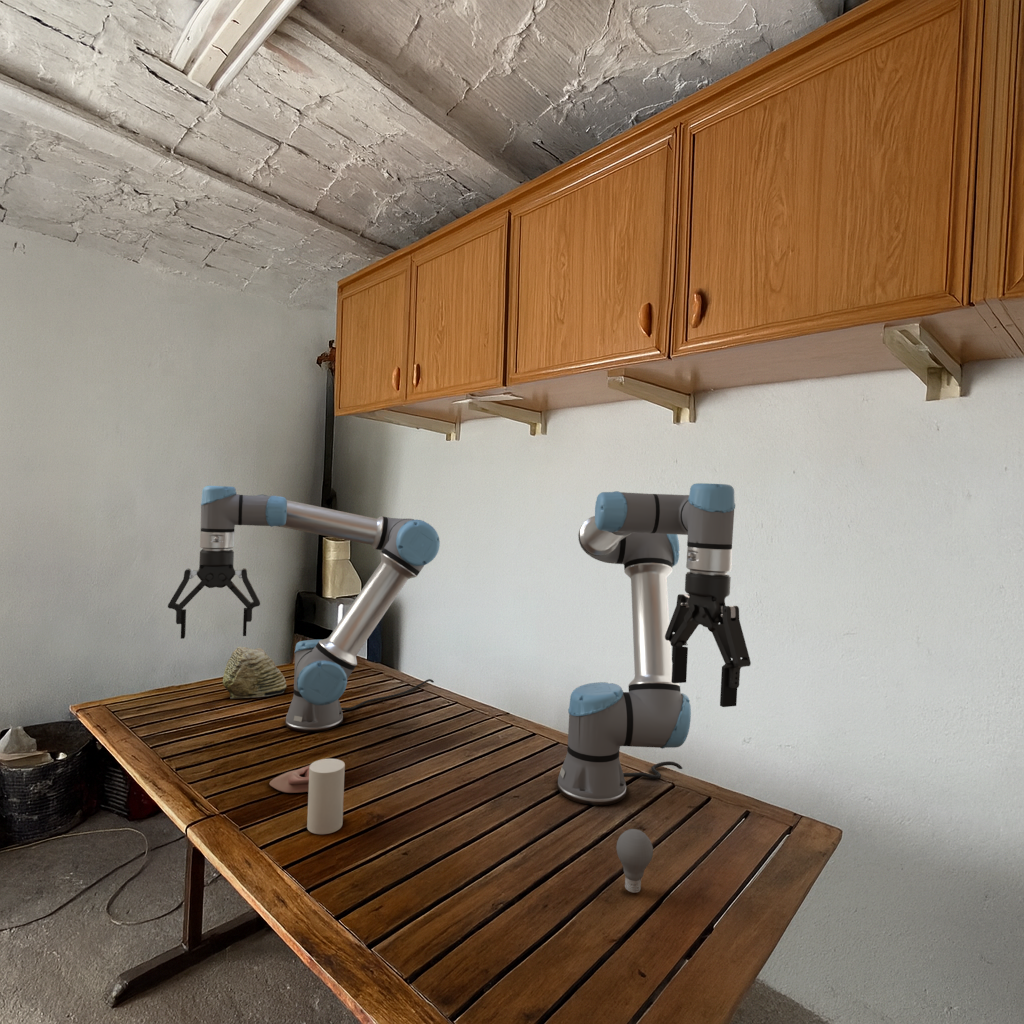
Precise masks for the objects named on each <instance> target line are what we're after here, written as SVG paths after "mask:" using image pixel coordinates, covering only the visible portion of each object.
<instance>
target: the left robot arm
mask: <svg viewBox="0 0 1024 1024" xmlns="http://www.w3.org/2000/svg"><path fill="white" fill-rule="evenodd" d="M201 491H202V492H201V501H200V502H201V503H200V533H199V534H200V535H199V541H200V542H199V547H200V548H201V550H200V551H199V566H198V569H191V568H186V569H185V570H184V574H183V579H182V580H181V582H180V584H179V585H178V587H177V589H176V591H175V592H174V594H173V595H172V598H171V599H170V601H169V603H168V604H167V608H168V609H171V610H175V624H176V625H180V639H185V638H186V627H187V625H186V623H187V609H186V608H185V607H186V606H187V605H188V604H189V603H190V602H191V601H192V600H193V599H194V597H195V596H196V595H197V594H199V592H200V591H202V589H203V588H204V587H206V588H208V589H212V588H213V589H214V588H218V589H223V588H226V587H227V588H228V589H229V590H230V591H231V592H232V593H233V595H235V596H236V598H237V599H238V600H240V602H241V603H242V604H243V605H244V606H245V607H243V619H242V621H243V623H242V636H243V637H247V625H248V623H249V622H250V623H251V622H252V620H253V609H254V608H257V607H260V606H261V601H260V599H259V597H258V595H257V593H256V591H255V589H254V587H253V585H252V583H251V582H250V580H249V577H248V569H247V568H245V567H244V568H241V569H235V568H234V562H235V560H234V559H235V558H234V557H235V552H234V549H233V548H235V531H236V529H235V527H236V526H257V527H259V526H260V527H271V528H272V527H278V528H284V529H290V530H294V531H299V532H305V533H310V534H315V535H319V536H320V535H321V536H325V537H329V538H334V539H340V540H345V541H351V542H354V543H360V544H365V545H370V546H371V547H372V548H373V550H378V551H381V552H380V559H381V560H380V563H379V564H378V566H377V567H376V568H375V570H374V571H373V573H372V574H371V575H370V577H369V578H368V580H367V582H366V583H365V584H364V586H363V587H362V589H361V590H360V591H359V593H358V595H357V596H356V598H355V599H354V600H353V602H352V603H351V605H350V606H349V608H348V609H347V610H346V612H345V613H344V614H343V616H342V617H341V618H340V621H339V622H338V623H337V625H336V626H335V628H334V629H333V630H332V632H331V634H330V635H329V636H328V637H327V638H324V639H307V640H300V641H298V642H297V643H295V648H294V649H295V650H294V672H293V673H294V674H293V675H294V676H293V678H294V679H293V695H292V696H293V697H292V699H291V702H290V704H289V708H288V711H287V713H286V715H285V726H286V728H287V729H289V730H291V731H294V732H295V731H296V732H301V733H316V732H325V731H329V730H332V729H335V728H337V727H339V726H340V725H342V723H343V722H344V714H343V711H351V710H355V709H357V708H360V707H361V706H363V705H365V704H368V703H371V702H376V701H381V700H382V701H383V700H387V699H390V698H391V699H392V698H395V697H398V696H402V695H405V694H409V693H410V692H413V691H414V690H416V689H417V688H419V687H421V686H423V685H425V684H426V683H428V682H430V683H435V680H433V679H432V678H428V679H425V680H424V681H423V682H420V683H419V684H417V685H415V686H413V687H412V688H409V689H407V690H404V691H401V692H398V693H394V694H390V695H386V696H380V697H375V698H374V697H373V698H371V699H367V700H363V701H361V702H360V703H358V704H356V705H354V706H350V707H342V706H341V702H340V698H341V697H342V696H343V694H344V693H345V691H346V689H347V685H348V679H349V677H350V676H351V675H352V673H353V672H354V670H355V669H356V667H357V665H358V660H357V655H358V653H359V652H360V651H361V649H362V648H363V646H364V645H365V643H367V641H368V639H369V637H370V636H371V635H372V633H373V632H374V630H375V629H376V628H377V626H378V624H379V623H380V621H381V620H382V619H383V618H384V615H385V614H386V613H387V611H388V610H389V608H390V607H391V605H392V604H393V602H394V601H395V600H396V598H397V597H398V595H399V593H400V592H401V591H402V589H403V588H404V586H405V585H406V583H407V582H408V580H410V579H413V578H414V579H415V578H418V575H419V574H420V573H421V572H422V570H423V568H424V567H425V566H426V565H428V564H429V563H431V562H432V561H434V560H435V558H436V557H437V555H438V554H439V552H440V547H441V541H440V536H439V534H438V532H437V530H436V528H434V526H432V525H431V524H430V523H428V522H426V521H424V520H422V519H414V518H396V517H388V516H387V517H386V516H382V515H380V516H379V517H377V518H375V517H371V516H366V515H361V514H357V513H351V512H346V511H342V510H341V511H340V510H338V509H337V510H336V509H332V508H328V507H323V506H317V505H313V504H307V503H303V502H298V501H294V500H289V499H287V498H286V497H285V496H278V495H267V494H257V495H255V494H251V495H248V494H237V489H236V487H235V486H229V485H228V486H225V485H205V486H204V487H203V488H202V490H201ZM195 576H197V578H198V579H199V580H200V581H199V583H197V585H196V586H195V587H194V588H193V589H192V590H191V591H190V592H189V593H188V594H187V595H186V596H185V597H184V598H183V599H182V601H180V602H179V603H177V602H178V600H179V598H180V596H182V595H181V594H182V593H183V591H184V589H185V588H186V586H187V584H188V582H189V581H190V580H192V579H193V578H194V577H195ZM235 576H237V577H238V578H239V579H241V580H242V583H243V585H244V587H245V588H246V590H247V592H248V595H249V596H250V599H251V600H252V601H250V599H248V598H247V597H246V595H245V594H244V593H243V592H242V591H241V589H239V587H238V586H236V584H235V583H234V582H233V581H232V579H233V578H234V577H235ZM184 608H185V609H184Z"/></svg>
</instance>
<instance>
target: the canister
mask: <svg viewBox="0 0 1024 1024" xmlns="http://www.w3.org/2000/svg"><path fill="white" fill-rule="evenodd" d="M309 765H310V767H309V791H308V792H307V793H308V794H307V819H306V820H307V822H306V829H307V830H308V832H310V833H312V834H314V835H329V834H332V833H335V832H337V831H339V830H340V829H342V827H343V822H344V800H345V799H344V798H345V797H344V796H345V771H346V764H345V762H344V761H343V760H341V759H337V758H322V759H317V760H315V761H313V762H312V763H310V764H309Z"/></svg>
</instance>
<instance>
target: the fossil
mask: <svg viewBox="0 0 1024 1024" xmlns="http://www.w3.org/2000/svg"><path fill="white" fill-rule="evenodd" d="M222 676H223V677H222V685H223V687H224V688H225V690H226V691H228V693H229V698H230V699H250V698H264V697H271V696H275V695H281V694H284V693H285V691H286V689H287V687H288V686H287V680H286V678H285V676H284V674H283V673H282V672H281V669H279V668H278V667H277V665H276V663H275V662H274V660H273V659H272V658H271V657H270V656H269V655H268V654H267V653H266V652H265V650H264V649H263V648H260V647H258V648H251V647H247V646H246V647H245V646H238V647H237V648H236V649H235V650H233V651H232V653H231V656H230V657H229V659H228V660H227V663H226V666H225V668H224V671H223V675H222Z"/></svg>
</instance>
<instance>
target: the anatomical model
mask: <svg viewBox="0 0 1024 1024" xmlns="http://www.w3.org/2000/svg"><path fill="white" fill-rule="evenodd" d="M310 765H311V764H309V765H306V766H303V767H301V768H298V769H294V770H289V771H287V772H284V773H282V774H279V775H277V776H276V777H274V778H273V779H271V780H270V781H269V786H270V787H272V788H273V789H275V790H277V791H279V792H282V793H286V794H294V793H295V794H296V793H297V794H299V793H306V792H307V793H308V791H309V767H310Z"/></svg>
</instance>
